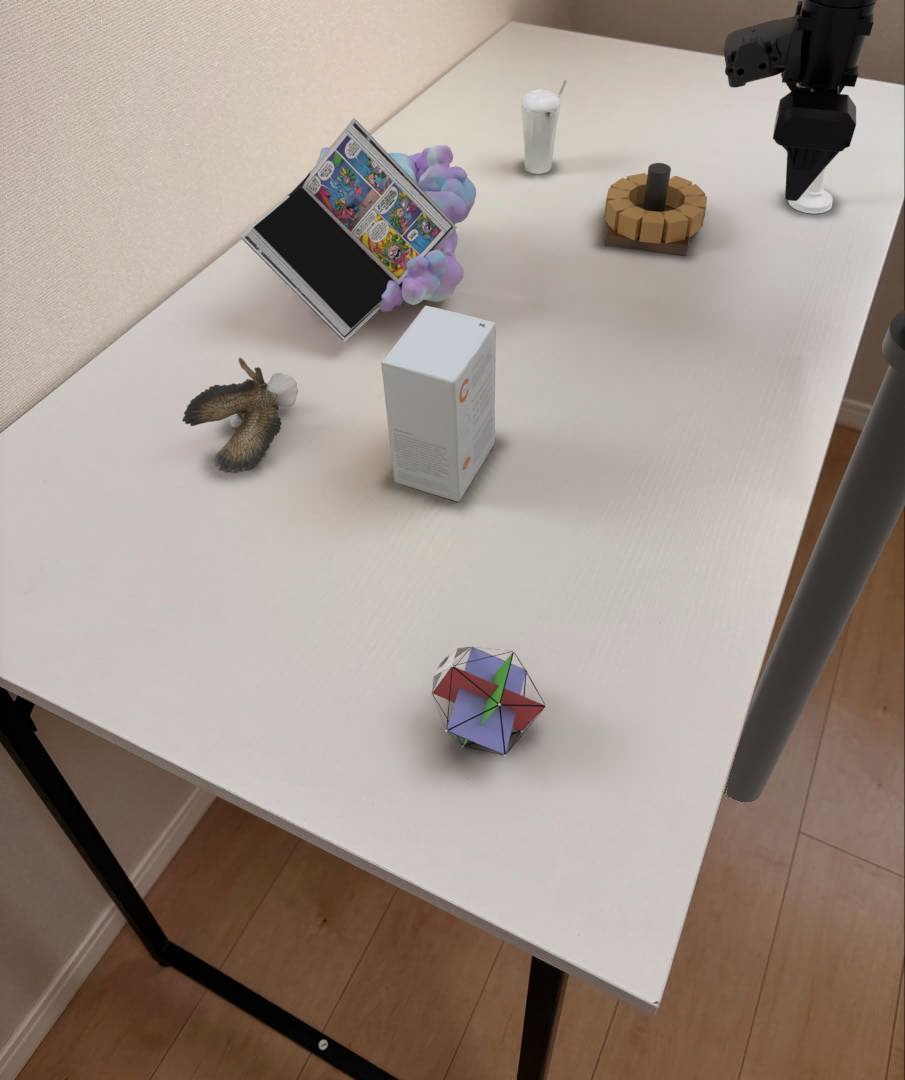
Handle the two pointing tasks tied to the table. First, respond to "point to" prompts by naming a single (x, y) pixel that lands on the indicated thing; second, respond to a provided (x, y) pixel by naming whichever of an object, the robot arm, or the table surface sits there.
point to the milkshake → (540, 128)
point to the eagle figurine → (244, 415)
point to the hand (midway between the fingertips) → (793, 175)
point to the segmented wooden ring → (651, 223)
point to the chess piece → (814, 198)
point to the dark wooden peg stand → (652, 202)
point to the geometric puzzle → (485, 699)
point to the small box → (441, 401)
